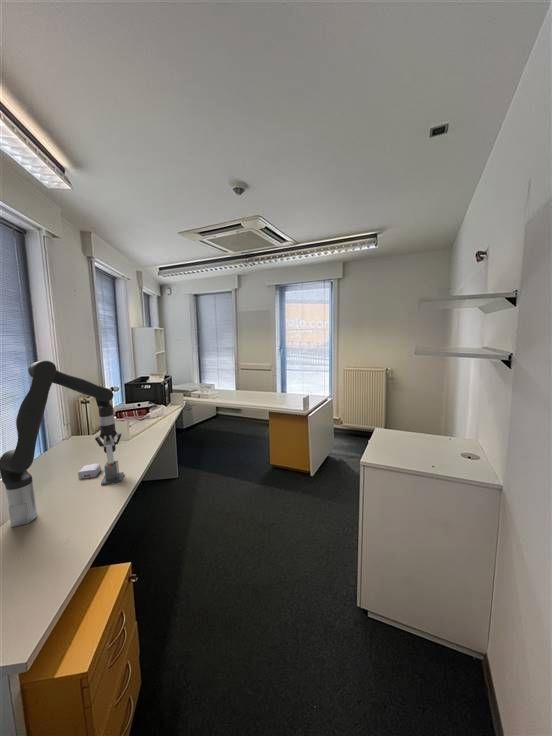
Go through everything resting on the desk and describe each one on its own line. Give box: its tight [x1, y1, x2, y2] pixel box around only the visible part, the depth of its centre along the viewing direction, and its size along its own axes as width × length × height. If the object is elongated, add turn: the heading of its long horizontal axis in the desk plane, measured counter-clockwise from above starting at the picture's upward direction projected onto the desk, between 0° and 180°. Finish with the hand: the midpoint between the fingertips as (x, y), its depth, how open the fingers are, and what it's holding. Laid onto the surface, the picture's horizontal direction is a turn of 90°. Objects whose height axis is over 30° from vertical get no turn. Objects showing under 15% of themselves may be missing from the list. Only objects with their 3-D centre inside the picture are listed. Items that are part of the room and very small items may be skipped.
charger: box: [77, 463, 102, 480], centre depth 178 cm, size 5×9×15 cm
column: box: [106, 440, 116, 465], centre depth 166 cm, size 3×3×17 cm
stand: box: [100, 460, 125, 486], centre depth 167 cm, size 10×10×10 cm
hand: (110, 451), depth 166 cm, fingers closed on column, 3 cm apart
